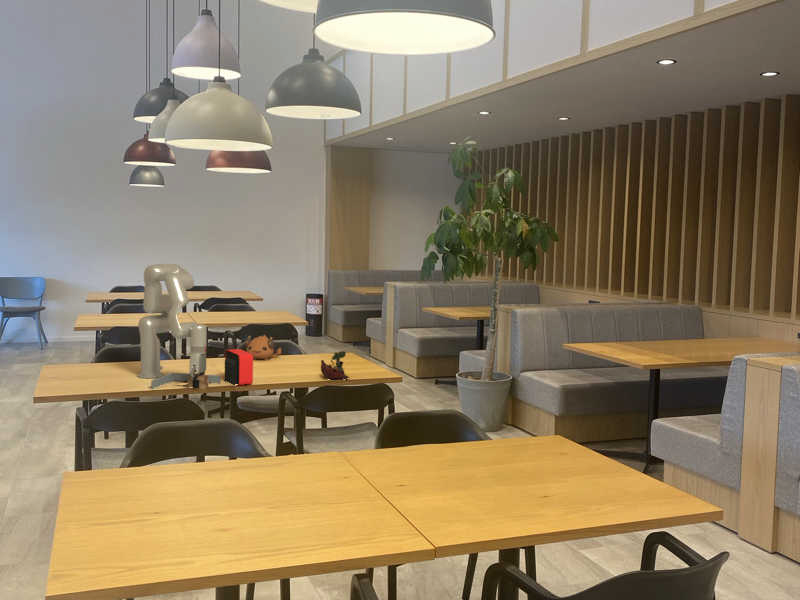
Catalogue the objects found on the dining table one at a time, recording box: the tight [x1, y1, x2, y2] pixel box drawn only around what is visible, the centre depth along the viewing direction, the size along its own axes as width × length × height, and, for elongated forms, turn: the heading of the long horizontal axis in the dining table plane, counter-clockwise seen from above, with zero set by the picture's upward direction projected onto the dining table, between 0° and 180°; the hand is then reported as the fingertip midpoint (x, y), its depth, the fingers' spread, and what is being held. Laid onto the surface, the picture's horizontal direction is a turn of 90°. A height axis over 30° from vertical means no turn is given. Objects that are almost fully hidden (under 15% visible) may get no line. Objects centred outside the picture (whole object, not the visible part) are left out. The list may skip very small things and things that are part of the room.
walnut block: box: [187, 374, 209, 390], centre depth 372 cm, size 5×8×6 cm, turn 80°
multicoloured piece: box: [320, 350, 350, 380], centre depth 402 cm, size 14×15×15 cm
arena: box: [150, 372, 222, 388], centre depth 375 cm, size 22×26×4 cm
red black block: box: [224, 348, 254, 386], centre depth 386 cm, size 10×20×16 cm, turn 33°
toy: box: [244, 334, 282, 361], centre depth 454 cm, size 19×17×15 cm
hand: (198, 386), depth 372 cm, fingers closed on walnut block, 5 cm apart
